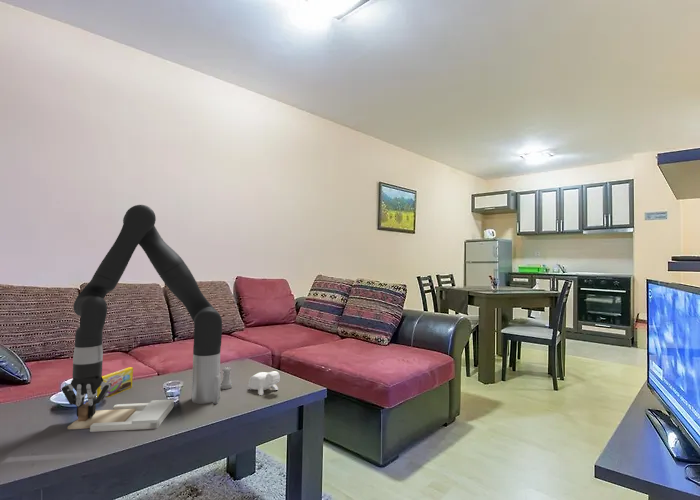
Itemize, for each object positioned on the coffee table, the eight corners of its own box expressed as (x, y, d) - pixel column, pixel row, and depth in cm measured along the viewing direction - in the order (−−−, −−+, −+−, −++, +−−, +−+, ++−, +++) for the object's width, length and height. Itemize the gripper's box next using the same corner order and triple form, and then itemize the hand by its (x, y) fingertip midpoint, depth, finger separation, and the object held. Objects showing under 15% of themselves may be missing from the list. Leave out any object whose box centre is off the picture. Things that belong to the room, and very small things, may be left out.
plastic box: (173, 409, 129) (173, 399, 129) (157, 431, 112) (157, 419, 112) (115, 412, 126) (116, 401, 126) (89, 435, 109) (90, 423, 109)
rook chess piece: (225, 390, 149) (226, 369, 150) (217, 388, 152) (218, 367, 152) (234, 387, 153) (235, 367, 154) (227, 385, 156) (227, 365, 156)
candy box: (98, 402, 135) (99, 378, 135) (93, 402, 135) (93, 378, 135) (132, 388, 151) (133, 366, 151) (128, 387, 151) (128, 366, 151)
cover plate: (135, 411, 125) (136, 396, 125) (120, 426, 113) (120, 410, 113) (88, 413, 122) (89, 398, 123) (67, 429, 110) (68, 412, 111)
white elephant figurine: (247, 399, 149) (270, 393, 140) (243, 376, 151) (265, 369, 142) (265, 393, 155) (288, 387, 146) (261, 372, 158) (283, 365, 149)
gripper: (117, 356, 122) (115, 411, 122) (70, 357, 120) (67, 413, 119) (107, 362, 115) (104, 421, 114) (55, 364, 113) (53, 423, 112)
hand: (85, 417), depth 117 cm, fingers closed on cover plate
